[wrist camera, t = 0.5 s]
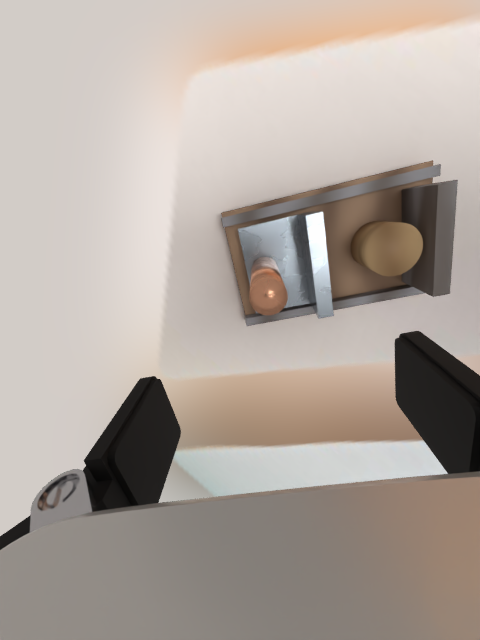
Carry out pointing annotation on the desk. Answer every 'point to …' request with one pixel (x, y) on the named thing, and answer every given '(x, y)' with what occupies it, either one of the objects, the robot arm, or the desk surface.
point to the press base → (344, 221)
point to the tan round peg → (387, 247)
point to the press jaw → (288, 264)
